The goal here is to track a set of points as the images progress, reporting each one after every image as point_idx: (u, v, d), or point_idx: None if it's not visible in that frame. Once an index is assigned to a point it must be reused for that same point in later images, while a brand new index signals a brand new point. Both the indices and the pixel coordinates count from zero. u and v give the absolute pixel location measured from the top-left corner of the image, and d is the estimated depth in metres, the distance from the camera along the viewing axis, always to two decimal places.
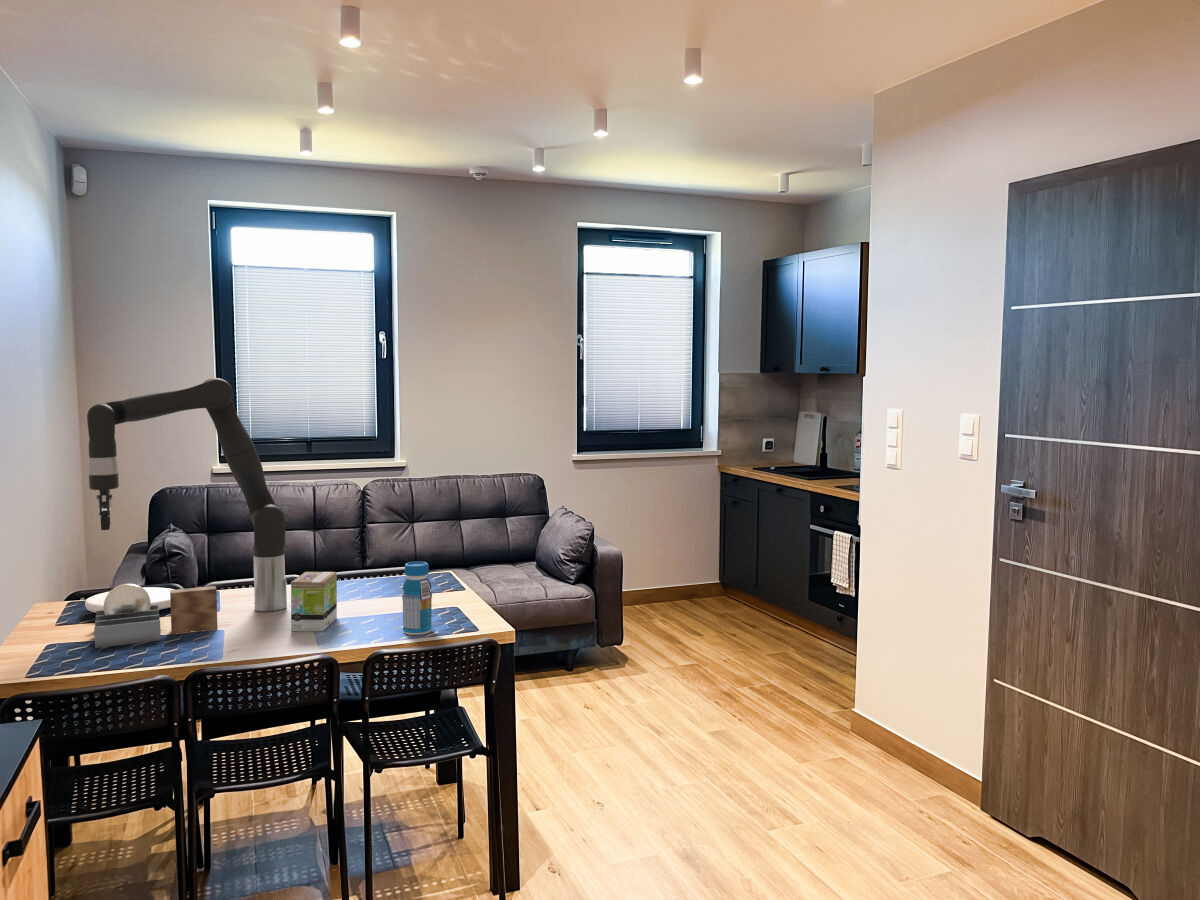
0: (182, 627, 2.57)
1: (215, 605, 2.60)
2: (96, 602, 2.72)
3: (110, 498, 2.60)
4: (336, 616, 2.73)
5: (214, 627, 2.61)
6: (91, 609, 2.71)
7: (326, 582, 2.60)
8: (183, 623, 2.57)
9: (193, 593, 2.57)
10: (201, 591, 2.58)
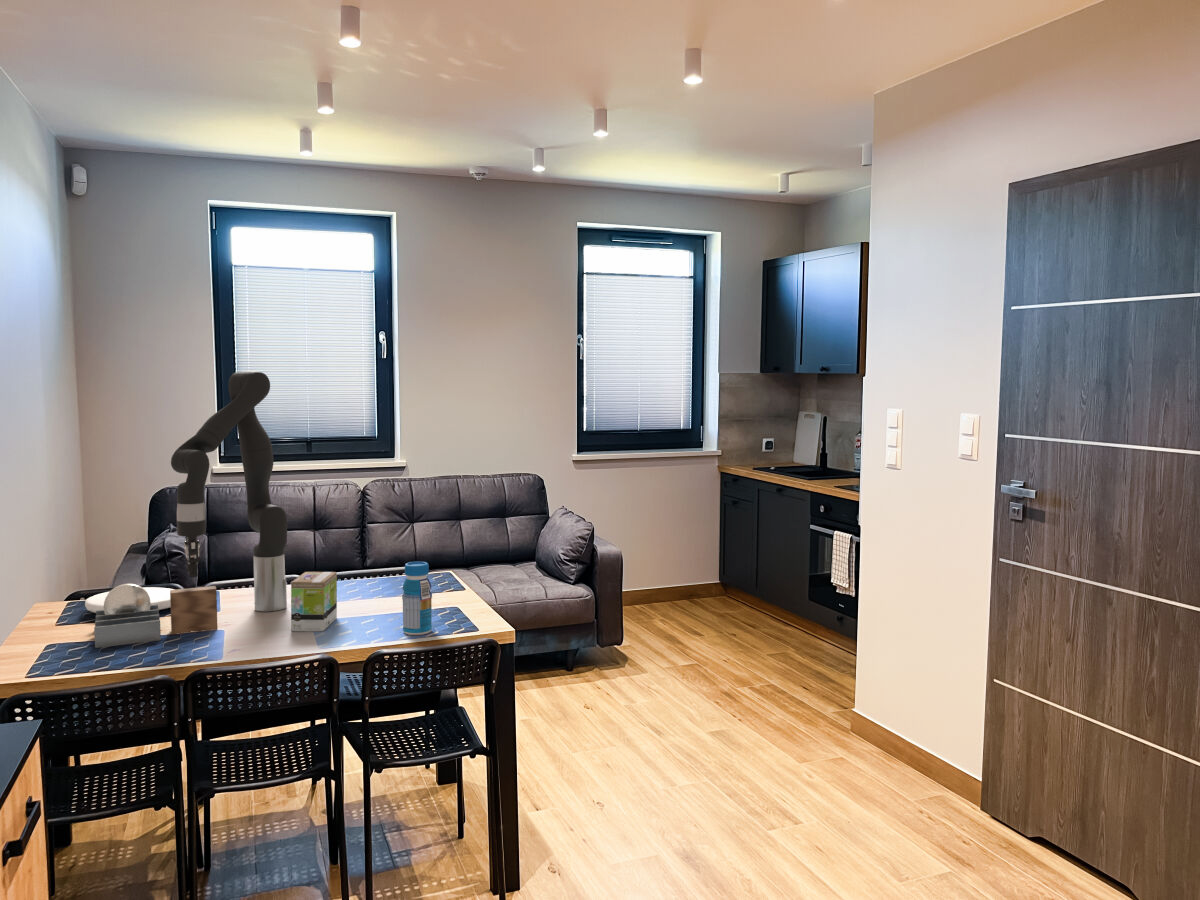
0: (182, 627, 2.57)
1: (215, 605, 2.60)
2: (96, 602, 2.72)
3: (198, 544, 2.57)
4: (336, 616, 2.73)
5: (214, 627, 2.61)
6: (91, 609, 2.71)
7: (326, 582, 2.60)
8: (183, 623, 2.57)
9: (193, 593, 2.57)
10: (201, 591, 2.58)
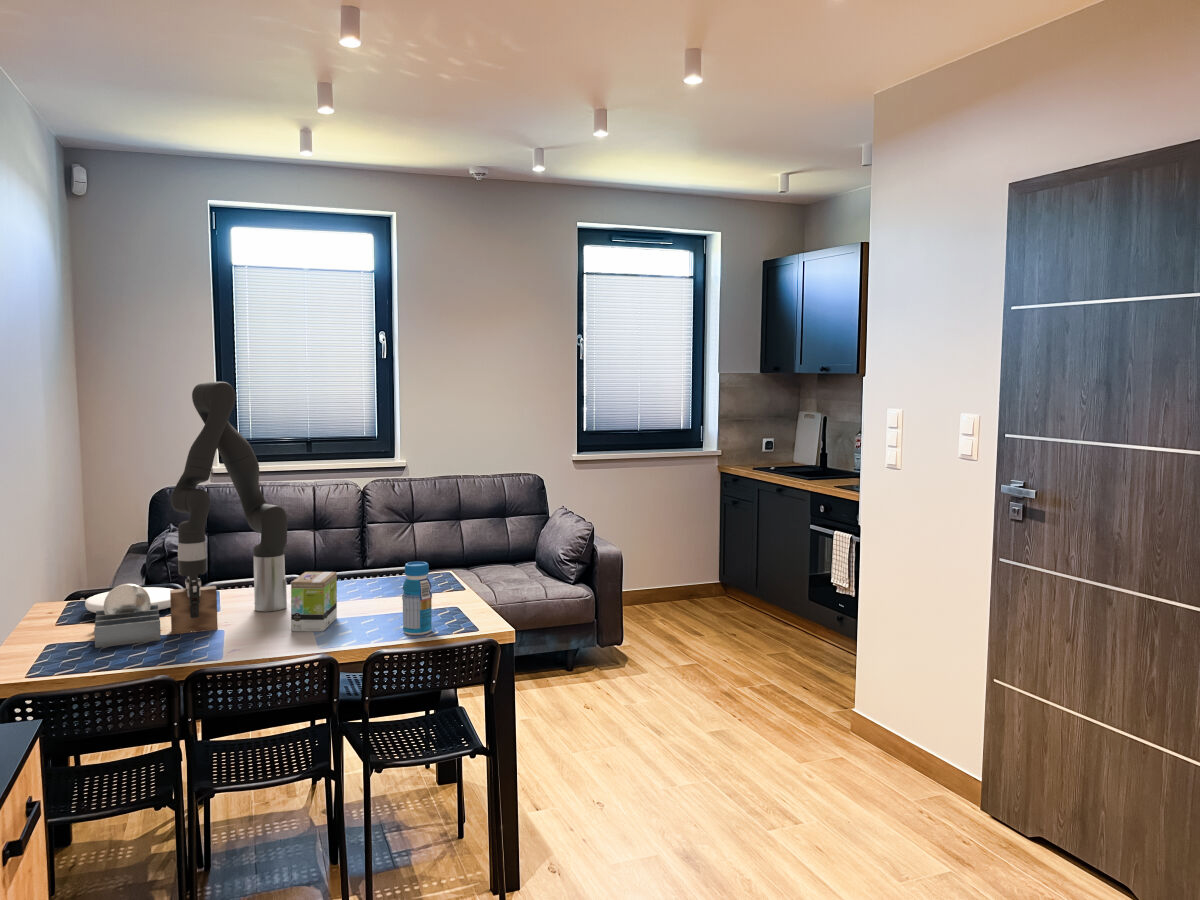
0: (182, 626, 2.57)
1: (215, 605, 2.60)
2: (96, 602, 2.72)
3: (199, 584, 2.58)
4: (336, 616, 2.73)
5: (214, 627, 2.61)
6: (91, 609, 2.71)
7: (326, 582, 2.60)
8: (183, 623, 2.57)
9: None
10: (201, 591, 2.58)
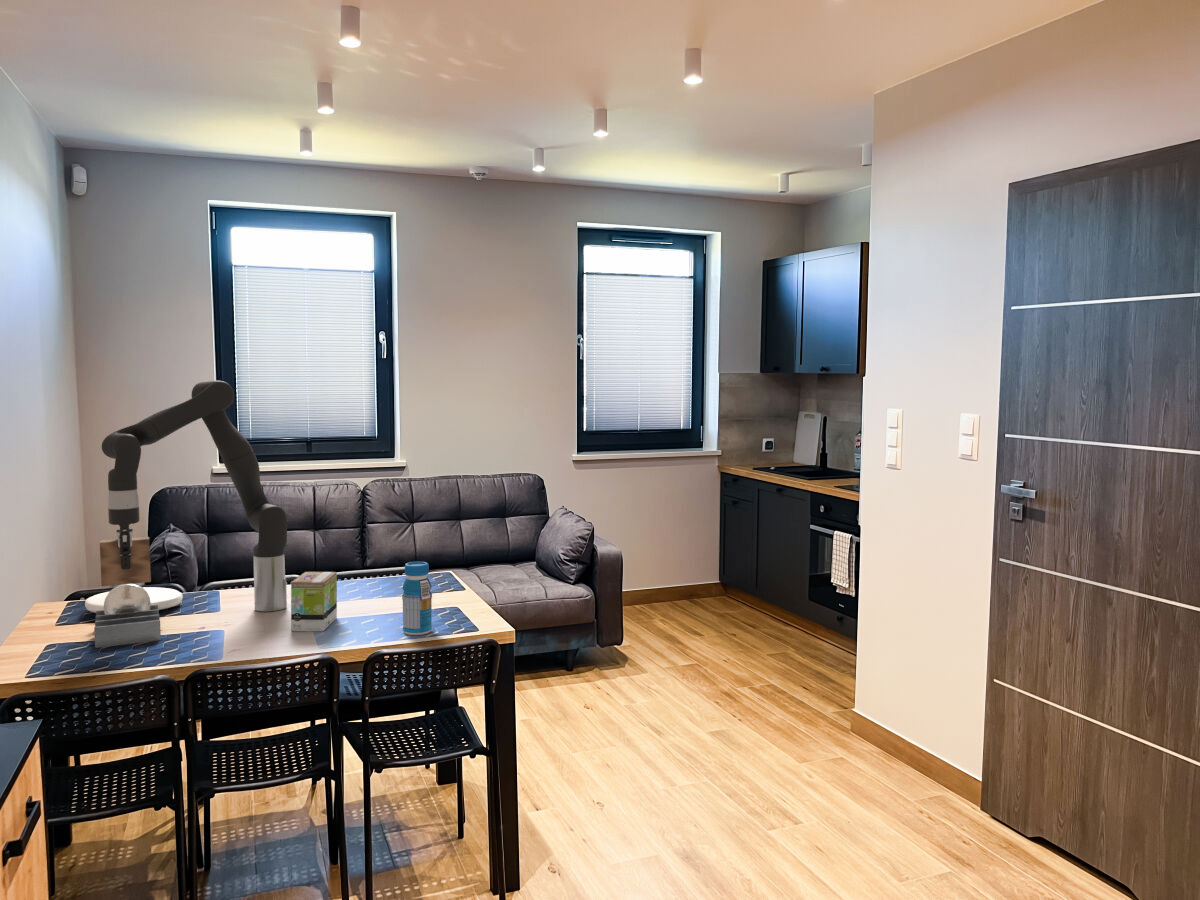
0: (112, 578, 2.44)
1: (148, 557, 2.48)
2: (96, 602, 2.72)
3: (131, 534, 2.46)
4: (336, 616, 2.73)
5: (147, 579, 2.48)
6: (91, 609, 2.71)
7: (326, 582, 2.60)
8: (113, 575, 2.44)
9: None
10: (133, 541, 2.46)
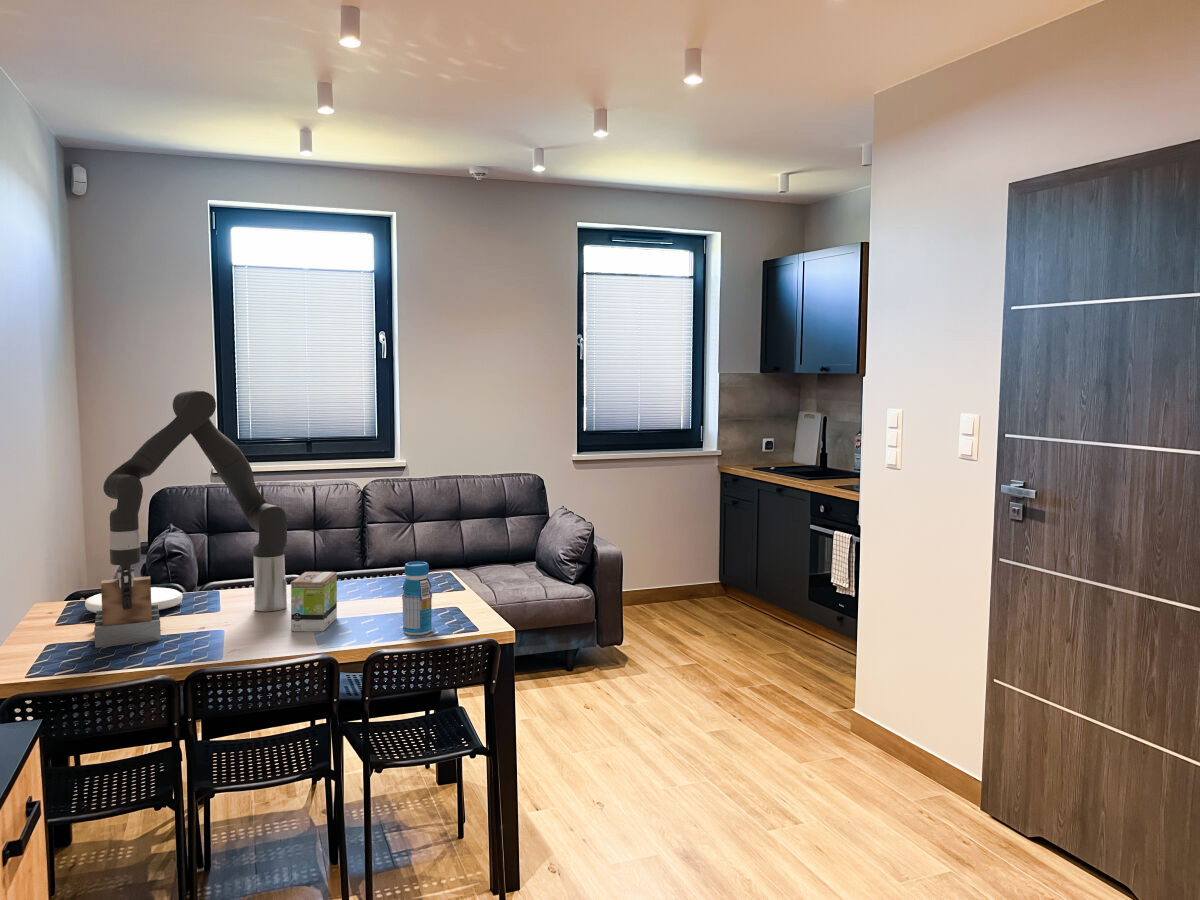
0: (113, 618, 2.45)
1: (149, 596, 2.49)
2: (96, 602, 2.72)
3: (132, 574, 2.47)
4: (336, 616, 2.73)
5: (148, 619, 2.49)
6: (91, 609, 2.71)
7: (326, 582, 2.60)
8: (114, 615, 2.45)
9: None
10: (134, 581, 2.47)
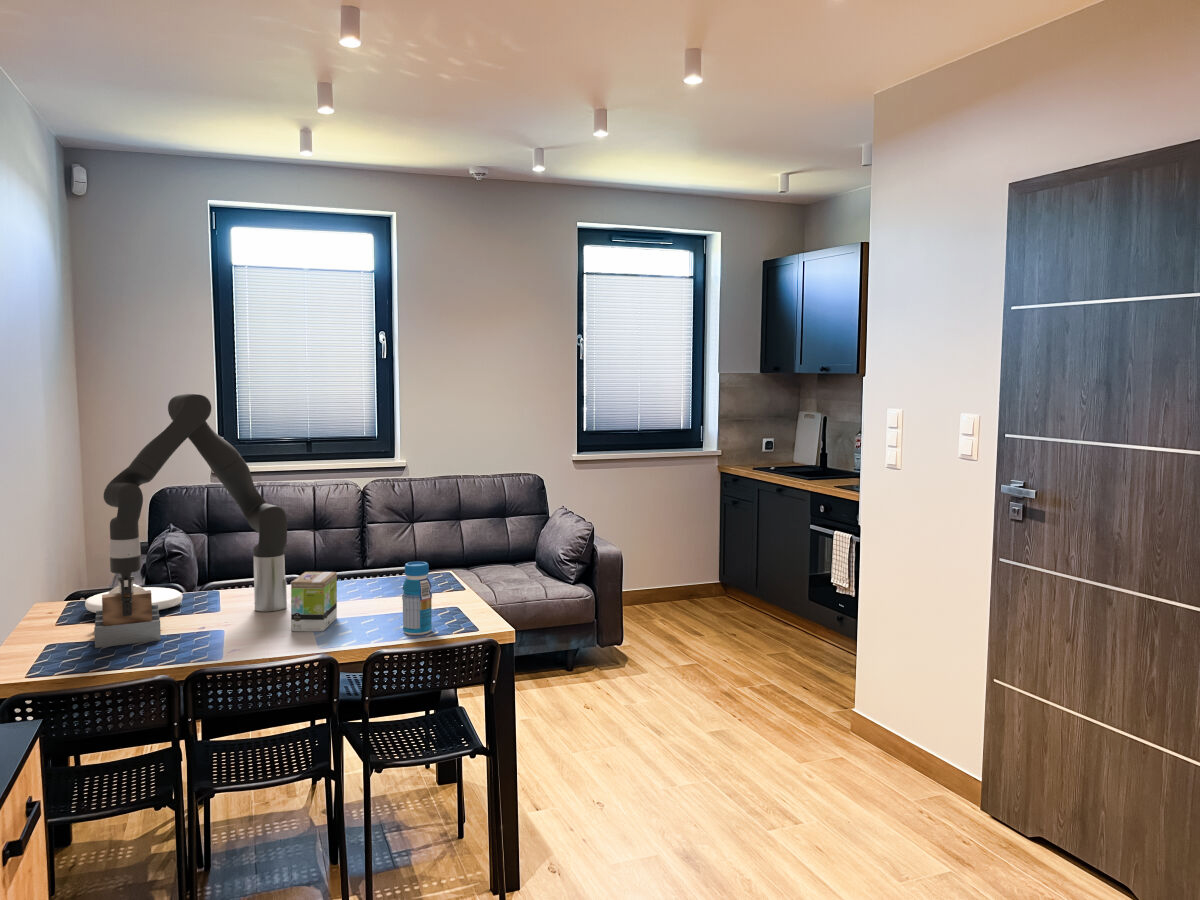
0: None
1: (150, 611, 2.49)
2: (96, 602, 2.72)
3: (132, 581, 2.47)
4: (336, 616, 2.73)
5: None
6: (91, 609, 2.71)
7: (326, 582, 2.60)
8: None
9: None
10: (135, 596, 2.47)
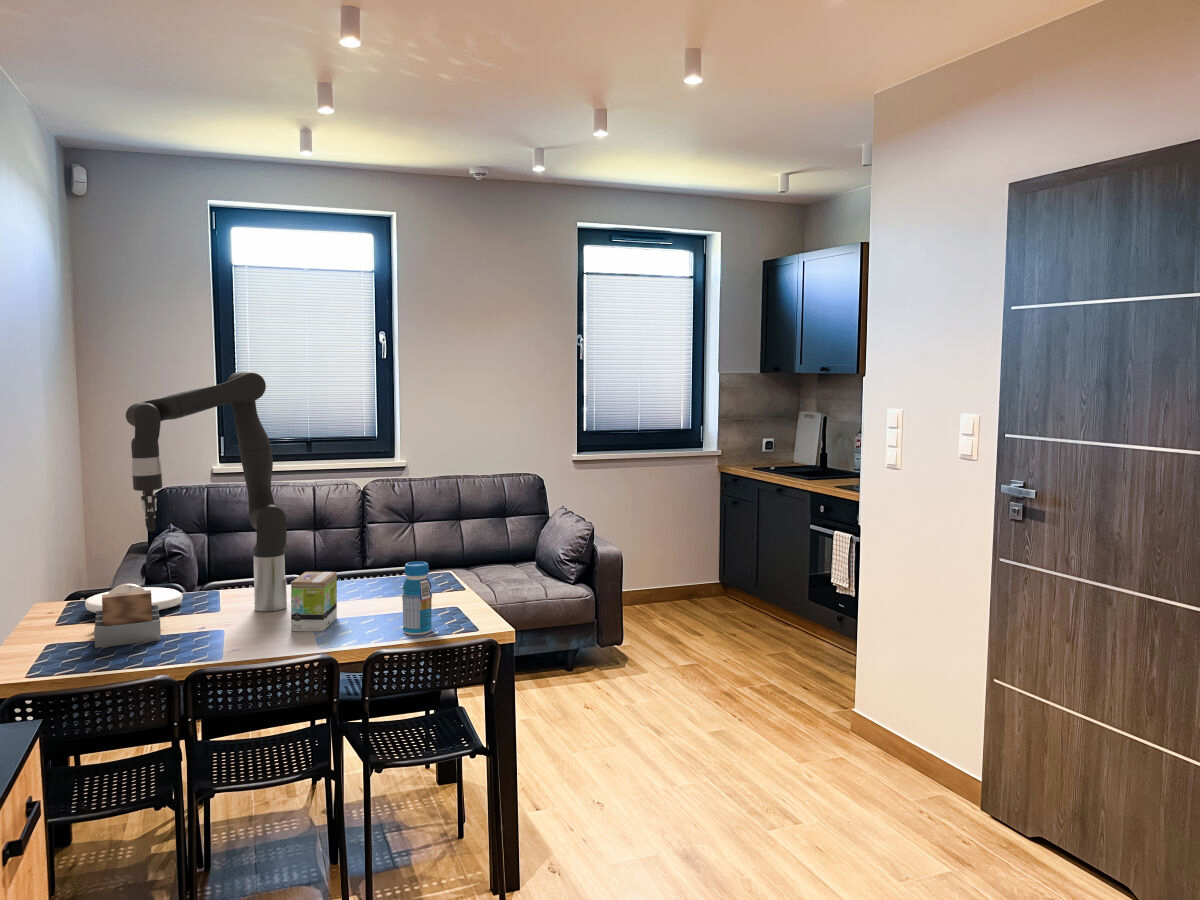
0: None
1: (150, 611, 2.49)
2: (96, 602, 2.72)
3: (155, 499, 2.56)
4: (336, 616, 2.73)
5: None
6: (91, 609, 2.71)
7: (326, 582, 2.60)
8: None
9: (126, 598, 2.46)
10: (135, 596, 2.47)
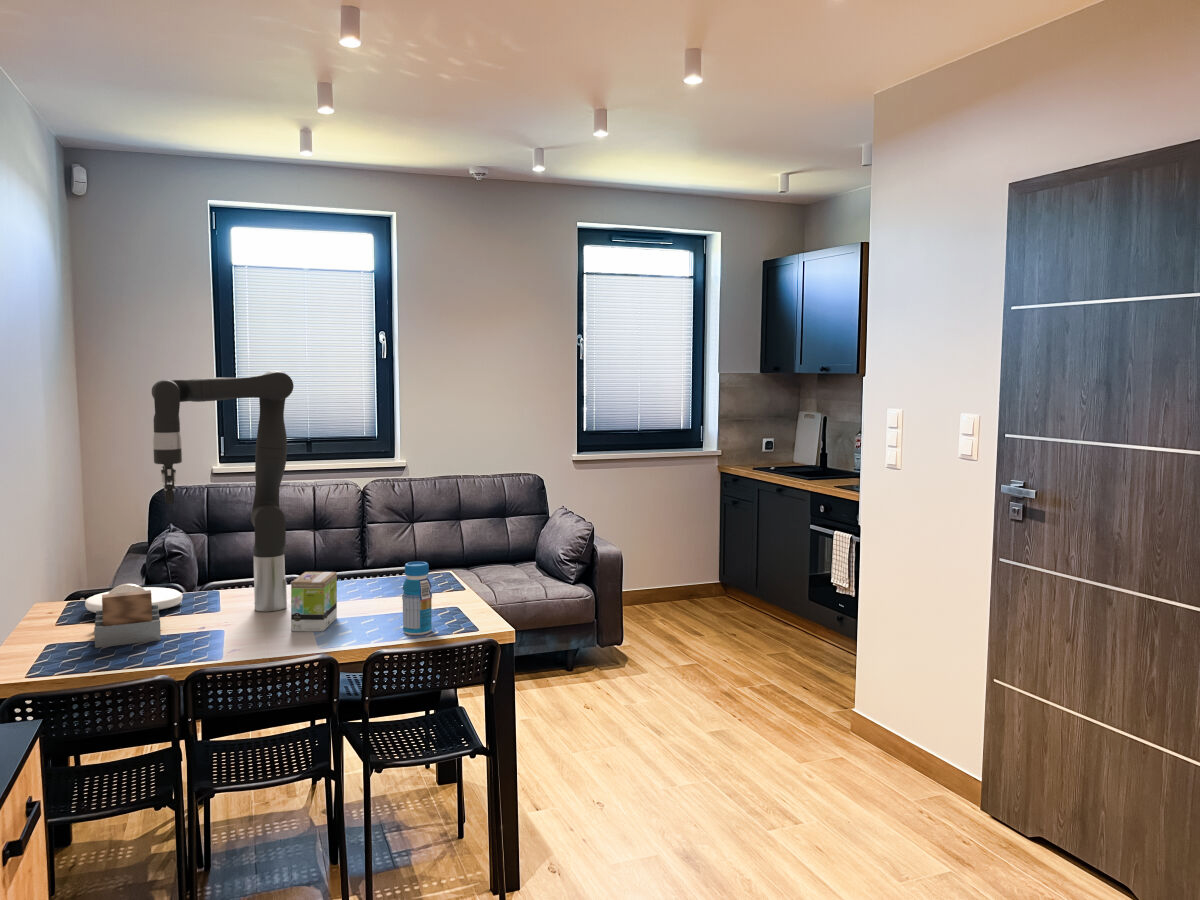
0: None
1: (150, 611, 2.49)
2: (96, 602, 2.72)
3: (174, 472, 2.65)
4: (336, 616, 2.73)
5: None
6: (91, 609, 2.71)
7: (326, 582, 2.60)
8: None
9: (126, 598, 2.46)
10: (135, 596, 2.47)
